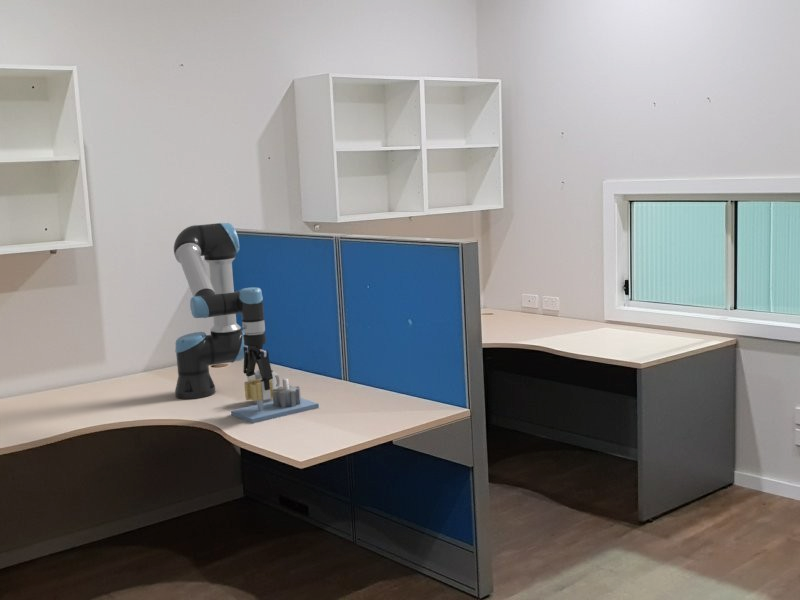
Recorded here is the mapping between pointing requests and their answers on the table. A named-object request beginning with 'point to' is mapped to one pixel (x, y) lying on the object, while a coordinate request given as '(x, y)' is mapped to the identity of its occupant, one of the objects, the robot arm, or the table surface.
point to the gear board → (276, 405)
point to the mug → (258, 376)
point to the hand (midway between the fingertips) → (259, 396)
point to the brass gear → (256, 389)
